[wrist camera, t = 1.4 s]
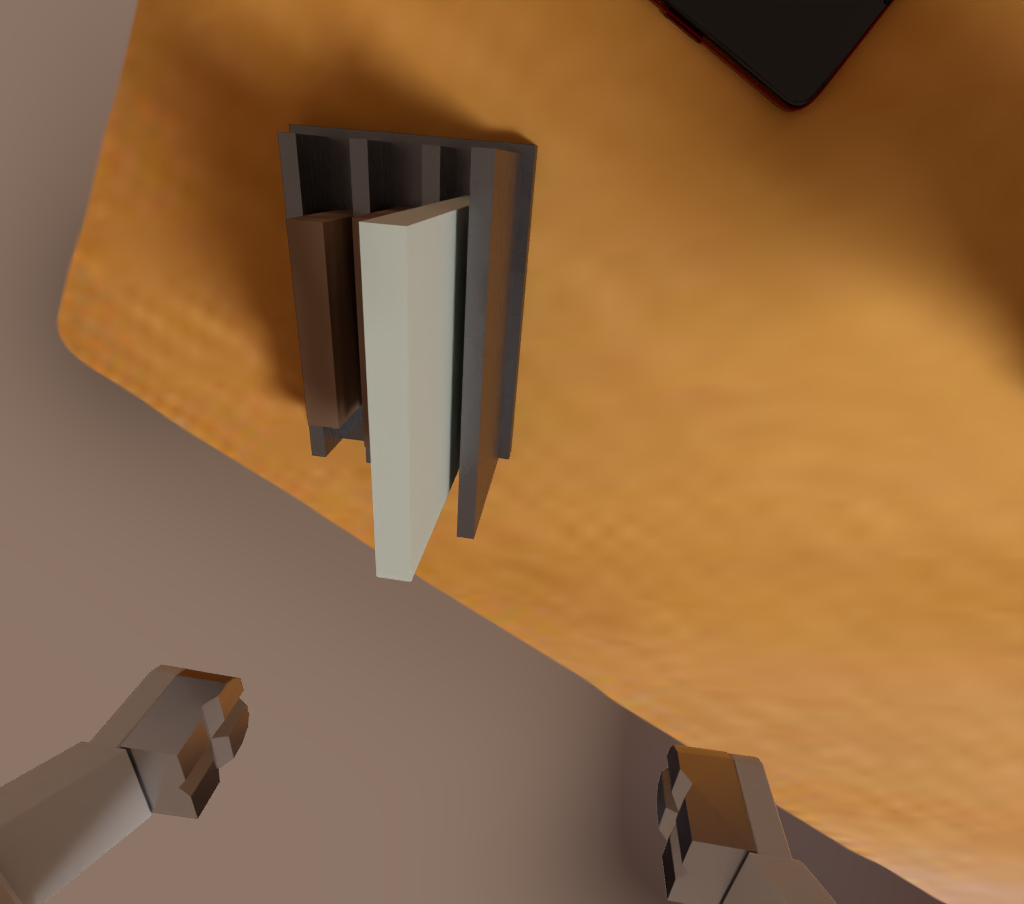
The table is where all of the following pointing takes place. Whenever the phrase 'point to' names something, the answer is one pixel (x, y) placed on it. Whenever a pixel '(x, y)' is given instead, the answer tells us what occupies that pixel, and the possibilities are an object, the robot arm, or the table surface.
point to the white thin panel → (413, 371)
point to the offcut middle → (360, 310)
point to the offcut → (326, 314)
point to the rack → (490, 261)
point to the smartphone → (779, 40)
